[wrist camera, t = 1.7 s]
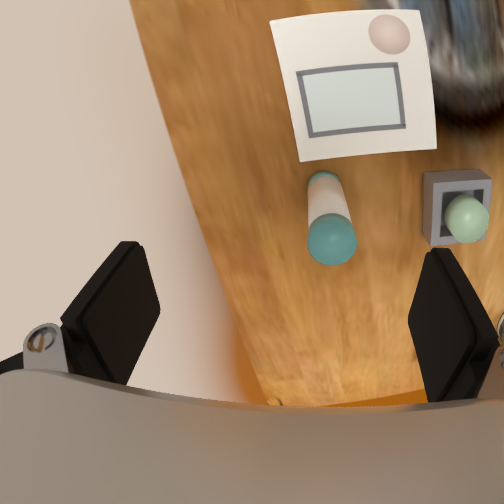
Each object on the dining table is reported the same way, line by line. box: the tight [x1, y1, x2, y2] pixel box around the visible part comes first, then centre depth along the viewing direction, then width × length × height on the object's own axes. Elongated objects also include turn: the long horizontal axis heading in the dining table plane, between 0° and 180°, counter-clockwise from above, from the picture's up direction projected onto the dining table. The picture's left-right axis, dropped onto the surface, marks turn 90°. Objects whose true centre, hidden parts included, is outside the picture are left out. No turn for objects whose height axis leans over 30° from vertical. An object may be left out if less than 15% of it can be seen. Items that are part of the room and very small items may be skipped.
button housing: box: [422, 169, 492, 247], centre depth 28 cm, size 7×7×3 cm
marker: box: [308, 171, 357, 265], centre depth 27 cm, size 4×4×11 cm
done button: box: [444, 194, 489, 244], centre depth 26 cm, size 4×4×2 cm
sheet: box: [269, 9, 437, 162], centre depth 25 cm, size 14×14×1 cm
